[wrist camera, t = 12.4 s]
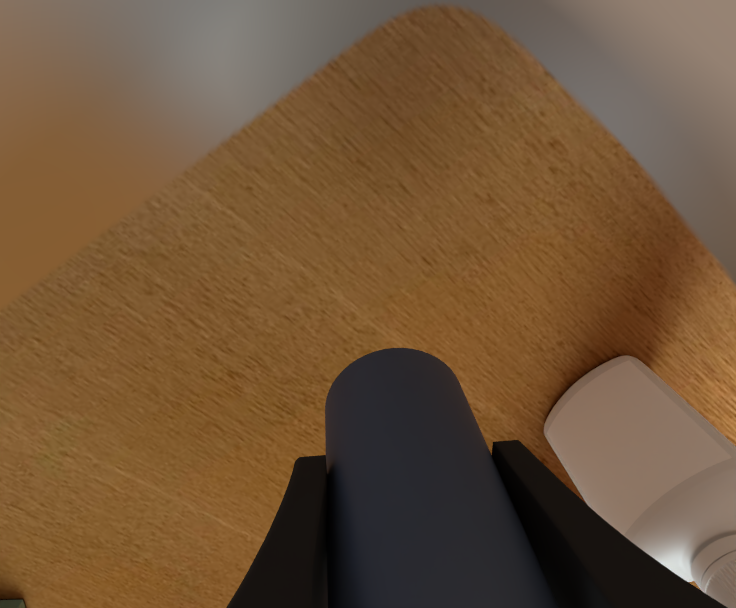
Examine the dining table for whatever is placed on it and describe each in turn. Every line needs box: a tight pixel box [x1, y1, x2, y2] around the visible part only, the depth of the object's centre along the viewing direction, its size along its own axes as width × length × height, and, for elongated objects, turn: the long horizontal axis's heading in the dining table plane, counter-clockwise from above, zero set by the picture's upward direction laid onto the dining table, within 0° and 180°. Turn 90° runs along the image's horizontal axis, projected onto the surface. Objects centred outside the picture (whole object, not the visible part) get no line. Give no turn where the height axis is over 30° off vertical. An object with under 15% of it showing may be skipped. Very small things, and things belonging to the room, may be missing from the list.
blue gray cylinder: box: [325, 348, 559, 608], centre depth 11 cm, size 4×4×8 cm
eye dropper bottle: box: [544, 355, 736, 608], centre depth 19 cm, size 4×6×12 cm
